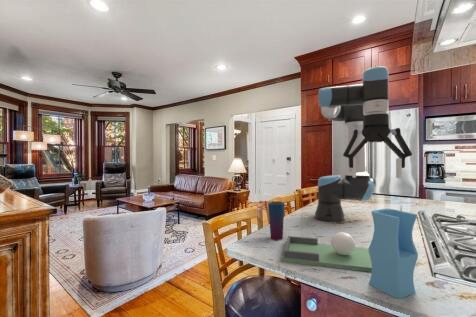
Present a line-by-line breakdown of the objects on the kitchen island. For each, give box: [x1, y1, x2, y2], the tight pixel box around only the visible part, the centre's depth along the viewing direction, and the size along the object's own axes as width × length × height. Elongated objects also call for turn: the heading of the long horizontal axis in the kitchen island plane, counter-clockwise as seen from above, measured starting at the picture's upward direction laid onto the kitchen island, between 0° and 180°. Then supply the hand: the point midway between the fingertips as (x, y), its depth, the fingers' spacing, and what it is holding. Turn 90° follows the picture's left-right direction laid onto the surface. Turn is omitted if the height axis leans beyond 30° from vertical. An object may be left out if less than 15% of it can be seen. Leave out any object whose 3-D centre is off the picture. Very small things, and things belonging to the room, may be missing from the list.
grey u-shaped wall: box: [284, 235, 319, 261], centre depth 85 cm, size 11×15×2 cm
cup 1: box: [267, 201, 285, 241], centre depth 100 cm, size 7×7×15 cm
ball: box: [330, 231, 356, 255], centre depth 81 cm, size 8×8×8 cm
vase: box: [368, 208, 419, 300], centre depth 63 cm, size 8×8×20 cm
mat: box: [280, 240, 372, 273], centre depth 82 cm, size 34×16×1 cm, turn 73°
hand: (375, 177), depth 80 cm, fingers open, 13 cm apart
